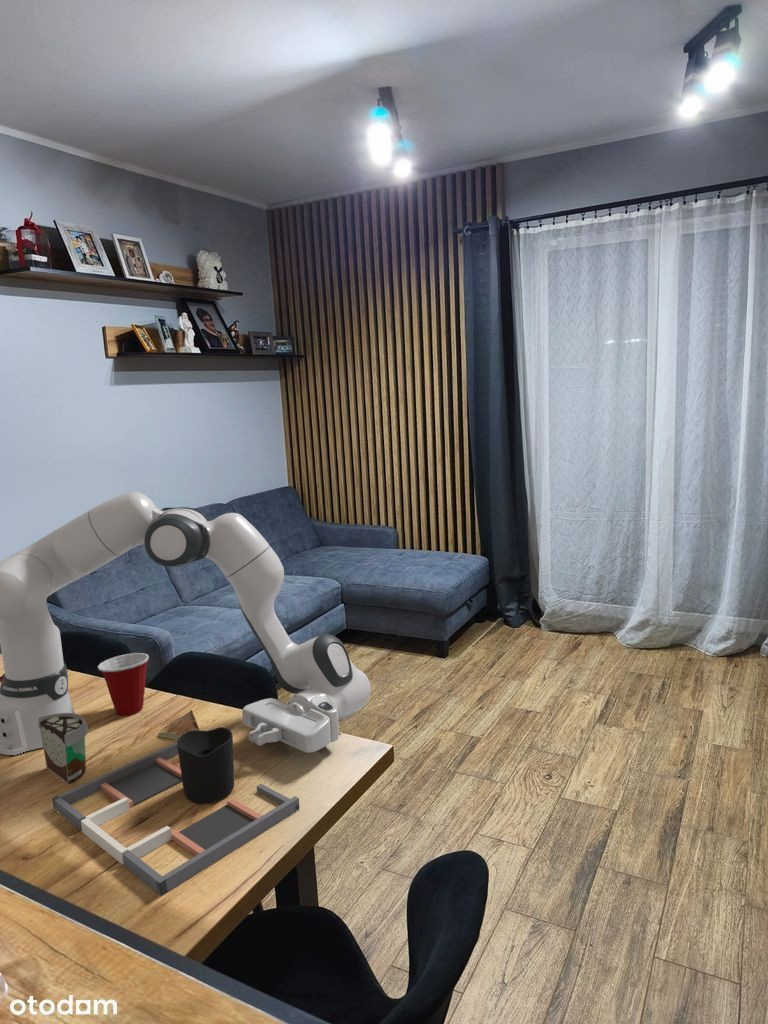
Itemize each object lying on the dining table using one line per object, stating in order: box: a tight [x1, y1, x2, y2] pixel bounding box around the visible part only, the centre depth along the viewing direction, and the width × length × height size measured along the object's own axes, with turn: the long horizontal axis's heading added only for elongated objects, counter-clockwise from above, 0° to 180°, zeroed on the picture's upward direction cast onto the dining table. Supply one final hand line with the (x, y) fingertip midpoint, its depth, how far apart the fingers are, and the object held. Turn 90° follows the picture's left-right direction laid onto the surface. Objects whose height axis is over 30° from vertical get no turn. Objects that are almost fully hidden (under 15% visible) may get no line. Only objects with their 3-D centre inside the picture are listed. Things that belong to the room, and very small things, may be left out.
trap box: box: [51, 741, 301, 896], centre depth 118 cm, size 26×34×2 cm
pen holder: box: [176, 726, 235, 805], centre depth 122 cm, size 9×9×10 cm
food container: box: [38, 713, 89, 786], centre depth 131 cm, size 12×6×10 cm, turn 48°
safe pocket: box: [81, 797, 173, 866], centre depth 111 cm, size 8×14×2 cm, turn 49°
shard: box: [158, 709, 200, 741], centre depth 147 cm, size 11×8×2 cm
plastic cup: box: [97, 652, 150, 717], centre depth 156 cm, size 11×11×12 cm
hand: (253, 739), depth 130 cm, fingers closed
